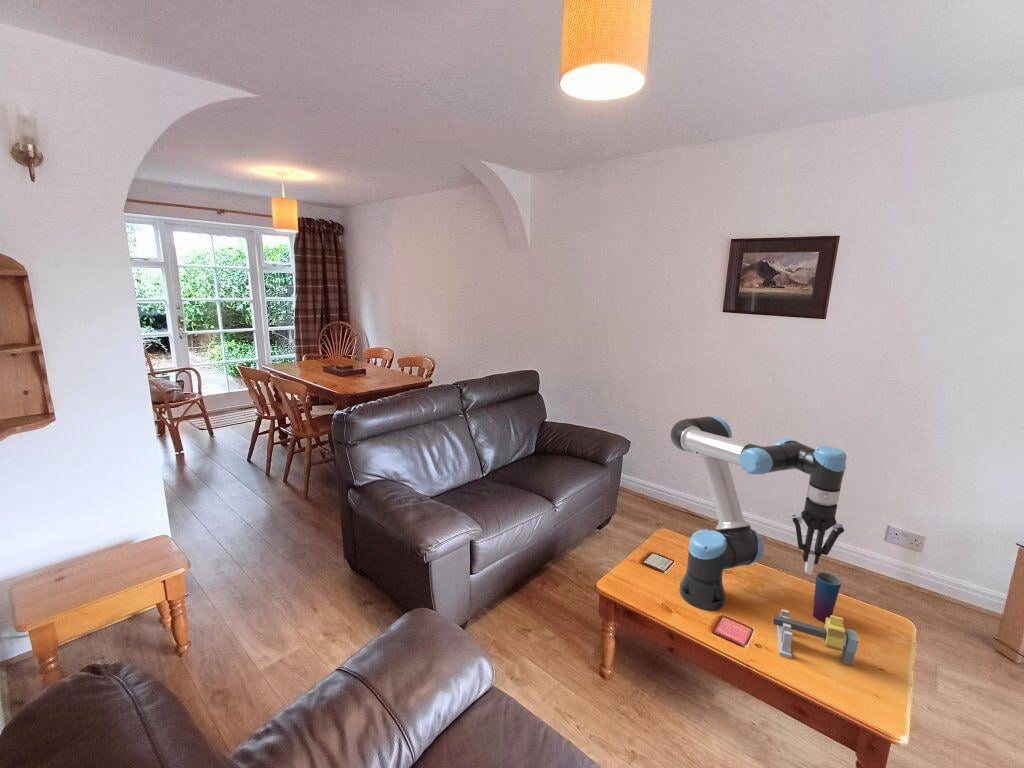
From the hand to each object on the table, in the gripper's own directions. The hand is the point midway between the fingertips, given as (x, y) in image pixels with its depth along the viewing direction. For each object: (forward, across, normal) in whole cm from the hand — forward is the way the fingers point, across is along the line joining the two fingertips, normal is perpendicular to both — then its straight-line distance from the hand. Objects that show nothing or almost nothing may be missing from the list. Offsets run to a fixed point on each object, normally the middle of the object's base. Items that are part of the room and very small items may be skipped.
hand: (808, 571), depth 137 cm
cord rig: (+25, +4, -2) cm, 26 cm away
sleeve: (+21, +9, -2) cm, 22 cm away
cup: (+26, +9, +16) cm, 32 cm away
